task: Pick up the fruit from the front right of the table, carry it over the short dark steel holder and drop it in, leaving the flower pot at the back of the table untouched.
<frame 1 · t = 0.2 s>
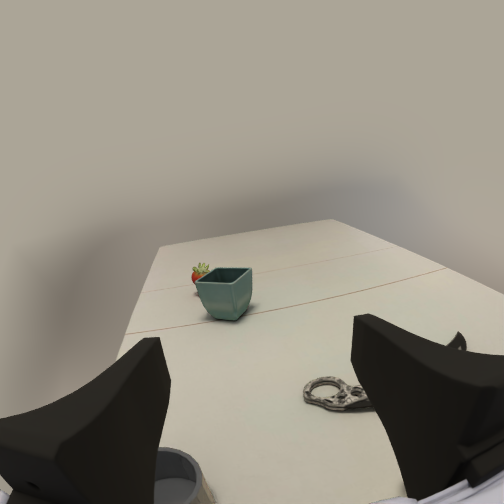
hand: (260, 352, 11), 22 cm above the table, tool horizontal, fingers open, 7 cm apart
knife: (403, 378, 38), on the table
fruit 2: (205, 294, 79), on the table
flower pot: (230, 315, 66), on the table
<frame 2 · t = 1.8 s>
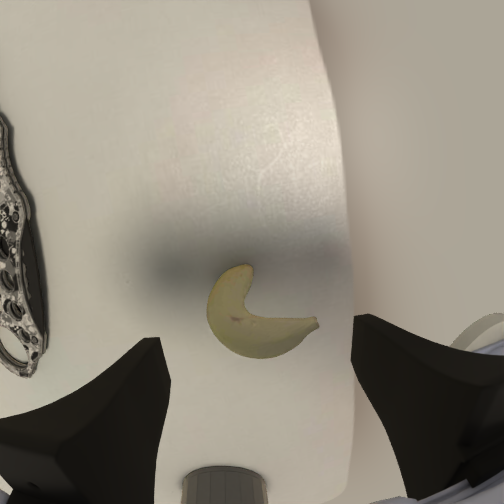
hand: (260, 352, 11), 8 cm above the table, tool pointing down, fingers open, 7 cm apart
fruit: (247, 272, 20), on the table
holder: (224, 487, 26), on the table
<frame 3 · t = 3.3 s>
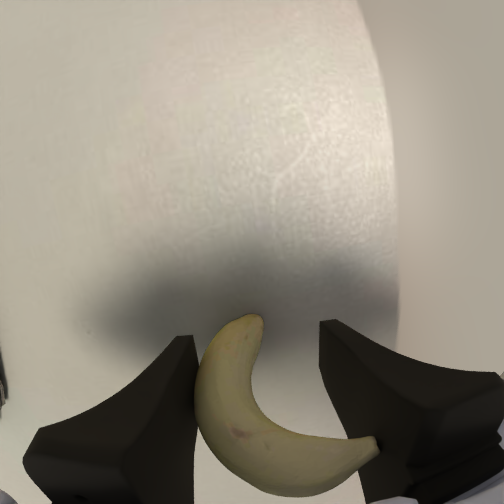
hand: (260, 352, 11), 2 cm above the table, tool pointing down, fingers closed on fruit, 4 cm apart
fruit: (255, 323, 13), on the table, touching gripper
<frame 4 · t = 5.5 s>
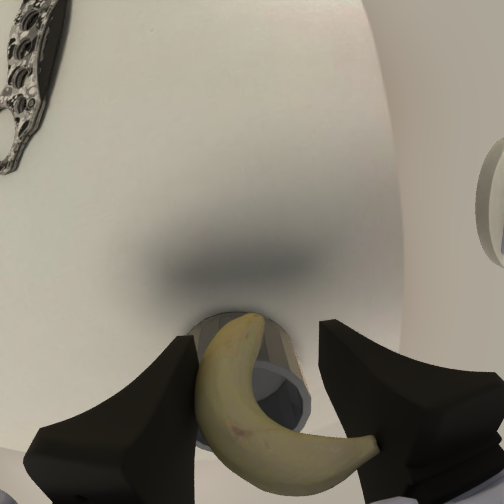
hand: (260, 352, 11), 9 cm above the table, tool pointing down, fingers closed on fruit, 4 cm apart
knife: (23, 3, 13), on the table
fruit: (256, 322, 13), point 7 cm above the table, touching gripper
holder: (237, 362, 22), on the table
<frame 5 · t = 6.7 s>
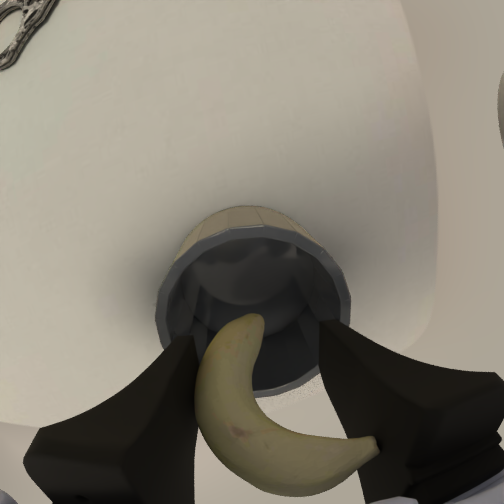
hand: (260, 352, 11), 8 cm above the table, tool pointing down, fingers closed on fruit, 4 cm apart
fruit: (256, 322, 13), point 5 cm above the table, touching gripper
holder: (247, 278, 19), on the table
when the fingers open (5 cm above the table, at t = 7.8 s): fruit drops 1 cm, resting on holder.
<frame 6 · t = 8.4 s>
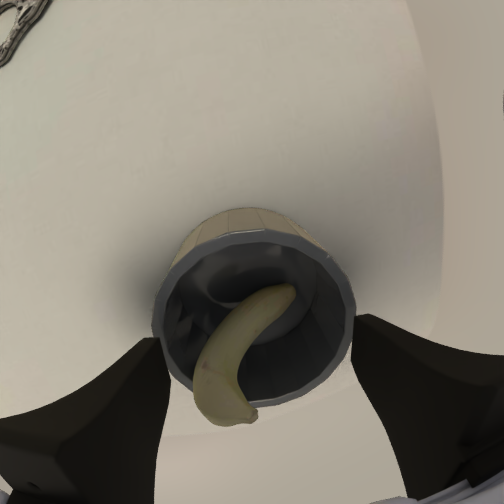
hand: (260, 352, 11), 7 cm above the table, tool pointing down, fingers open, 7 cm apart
fruit: (294, 291, 16), point 2 cm above the table, touching holder
holder: (248, 283, 18), on the table
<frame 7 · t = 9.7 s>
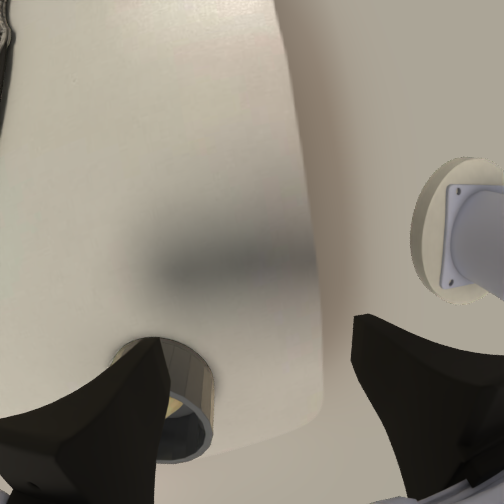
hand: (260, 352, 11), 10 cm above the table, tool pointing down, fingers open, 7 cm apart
holder: (161, 381, 23), on the table
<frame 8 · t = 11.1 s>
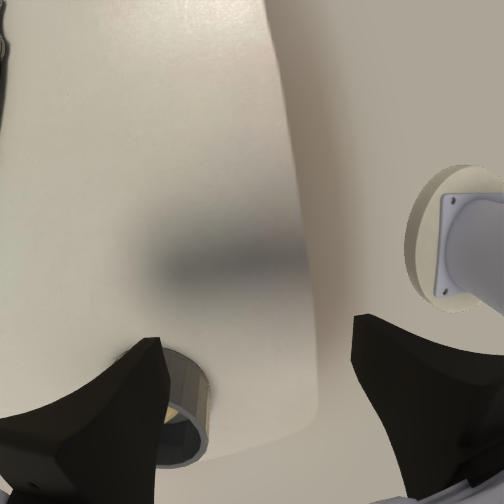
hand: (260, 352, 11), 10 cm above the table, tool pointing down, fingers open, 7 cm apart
holder: (159, 388, 24), on the table
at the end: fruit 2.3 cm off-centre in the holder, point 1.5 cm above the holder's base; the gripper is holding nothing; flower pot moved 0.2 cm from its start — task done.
